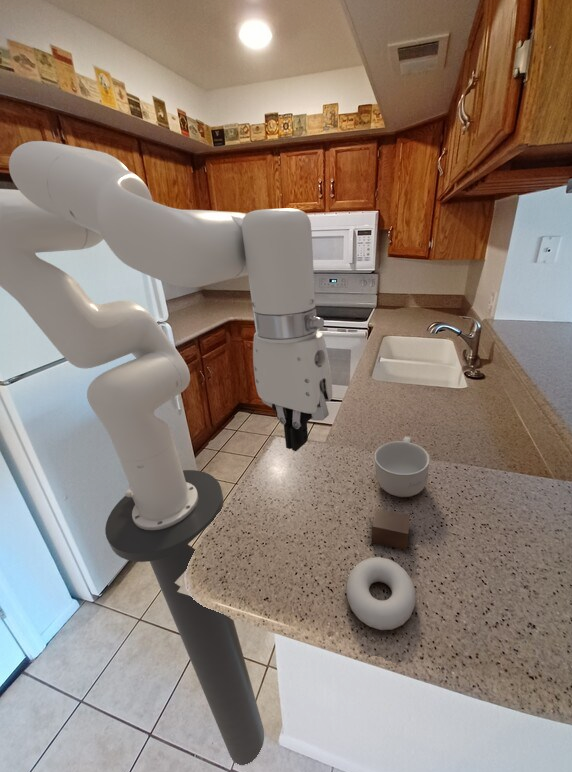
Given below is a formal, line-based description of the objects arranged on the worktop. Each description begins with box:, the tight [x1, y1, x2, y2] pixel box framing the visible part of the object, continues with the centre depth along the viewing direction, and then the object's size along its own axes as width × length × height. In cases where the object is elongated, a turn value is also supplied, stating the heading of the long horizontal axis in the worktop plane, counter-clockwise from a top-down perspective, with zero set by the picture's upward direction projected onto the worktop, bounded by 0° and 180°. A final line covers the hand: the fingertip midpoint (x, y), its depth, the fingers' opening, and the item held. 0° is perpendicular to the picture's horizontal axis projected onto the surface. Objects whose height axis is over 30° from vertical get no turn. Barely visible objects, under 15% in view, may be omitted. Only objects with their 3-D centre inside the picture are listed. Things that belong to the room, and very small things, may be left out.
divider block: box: [371, 508, 411, 551], centre depth 57 cm, size 6×4×4 cm, turn 73°
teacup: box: [373, 436, 431, 498], centre depth 68 cm, size 14×11×8 cm
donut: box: [345, 556, 416, 631], centre depth 48 cm, size 10×3×10 cm
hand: (297, 444), depth 48 cm, fingers closed
